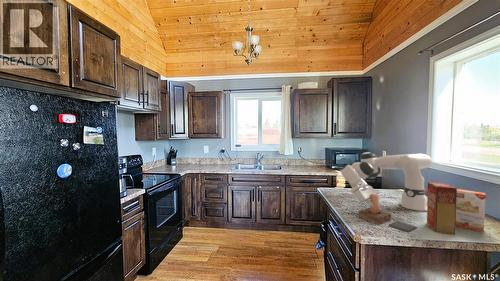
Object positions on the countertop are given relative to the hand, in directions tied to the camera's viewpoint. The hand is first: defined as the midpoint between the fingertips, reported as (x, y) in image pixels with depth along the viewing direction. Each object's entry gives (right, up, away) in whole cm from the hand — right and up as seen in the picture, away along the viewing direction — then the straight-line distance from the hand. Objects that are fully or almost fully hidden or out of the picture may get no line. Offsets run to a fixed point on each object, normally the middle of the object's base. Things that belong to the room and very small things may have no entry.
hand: (375, 204), depth 137 cm
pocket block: (0, -9, +1) cm, 9 cm away
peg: (0, -8, +1) cm, 8 cm away
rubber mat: (+9, -9, -11) cm, 17 cm away
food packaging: (+29, -10, -13) cm, 33 cm away
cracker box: (+47, -10, -10) cm, 49 cm away
